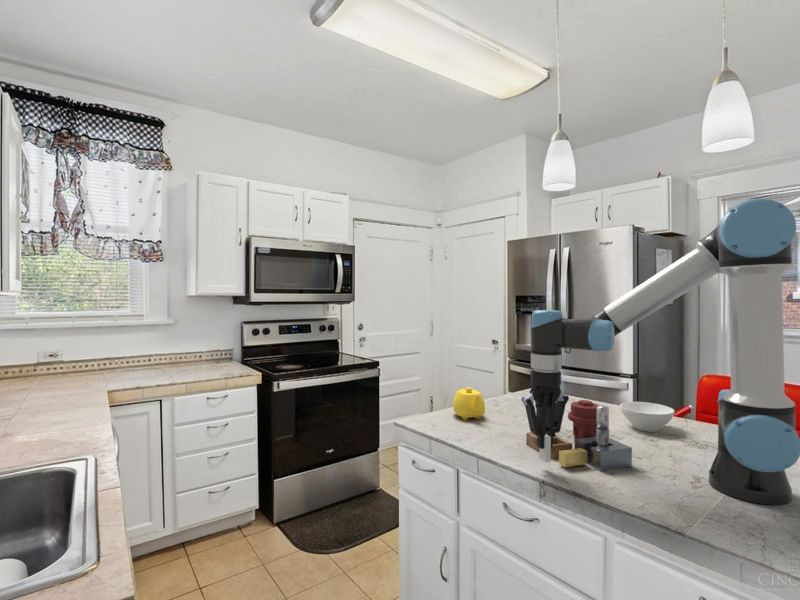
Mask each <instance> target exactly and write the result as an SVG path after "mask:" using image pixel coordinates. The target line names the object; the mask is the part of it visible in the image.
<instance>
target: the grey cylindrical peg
mask: <svg viewBox="0 0 800 600" xmlns="http://www.w3.org/2000/svg"><path fill="white" fill-rule="evenodd" d="M609 413H610V408H609V406H606V405H599V406H597V428H596V447H598V446H601V447H605V446H609V438H610V428H609V425H610V424H609V422H610V419H609V418H610V415H609Z"/></svg>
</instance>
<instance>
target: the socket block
mask: <svg viewBox="0 0 800 600" xmlns="http://www.w3.org/2000/svg"><path fill="white" fill-rule="evenodd" d="M578 448H582V449H584V450H586V451H587V462H590V466H591V467H592V468H594V469H596V470H597V471H599V472H605V471H611V470H617V469H618V470H619V469H624V468H629V467H630V468H632V466H633V447H631V446H628V445H626V444H624V443H622V442H620V441H617V440H615V439H612V438H611V437H609V446H605V447H601V446H598V447H596V437H590V438H582V439H574V449H578Z"/></svg>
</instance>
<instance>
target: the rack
mask: <svg viewBox="0 0 800 600" xmlns="http://www.w3.org/2000/svg"><path fill="white" fill-rule="evenodd" d="M525 437H526V438H525V439H526V440H525V441H526V445H527V446H529V447H530V448H532V449H534V450H535V451H537V452H539V447H538V446H537V435H536V434H534V433H532V432H531V431H530V432H526V436H525ZM570 449H573V443H572V442H570V441H568V440H566V439H564V438H562V437H560V436H558V435H556V436H555V437H553V446H552V447H551V459H559V451H563V450H570ZM551 459H550V460H551Z"/></svg>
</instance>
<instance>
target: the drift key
mask: <svg viewBox="0 0 800 600" xmlns="http://www.w3.org/2000/svg"><path fill="white" fill-rule="evenodd" d="M558 464H559V465H560V466H562V467H563V468H571V467H577V466H584V465H588V461H587V451H586V450H584V449H582V448H578V449H575V448H572V449H570V450H563V451H559V458H558Z"/></svg>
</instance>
